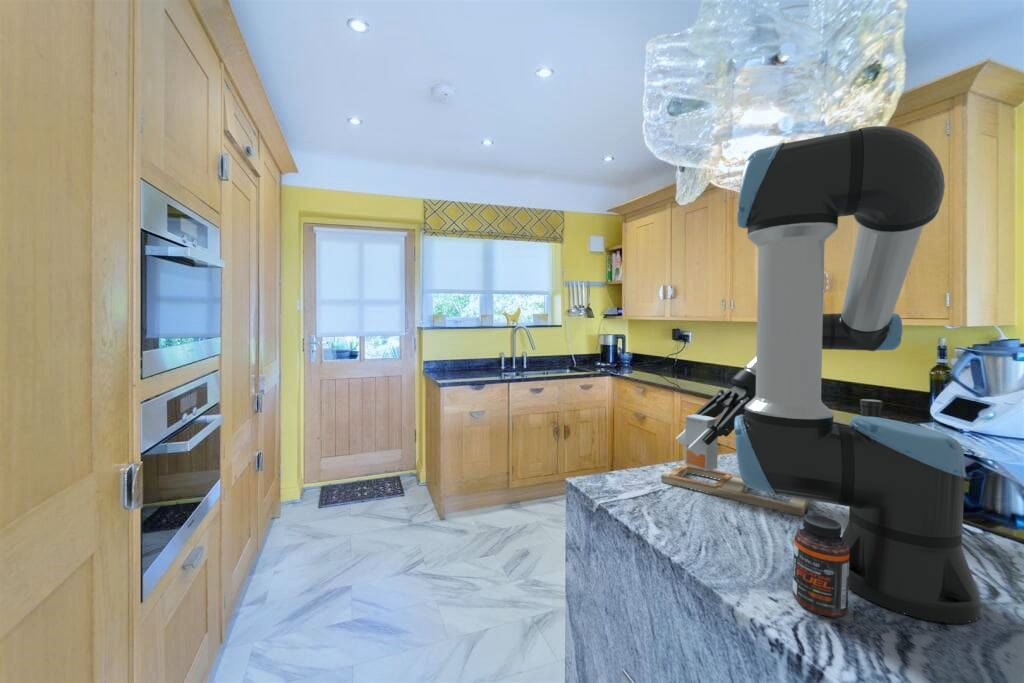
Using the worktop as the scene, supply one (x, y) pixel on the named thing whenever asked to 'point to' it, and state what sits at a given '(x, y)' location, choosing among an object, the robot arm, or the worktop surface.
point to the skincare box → (693, 431)
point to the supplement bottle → (821, 567)
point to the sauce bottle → (871, 408)
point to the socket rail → (729, 488)
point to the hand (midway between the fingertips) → (686, 446)
